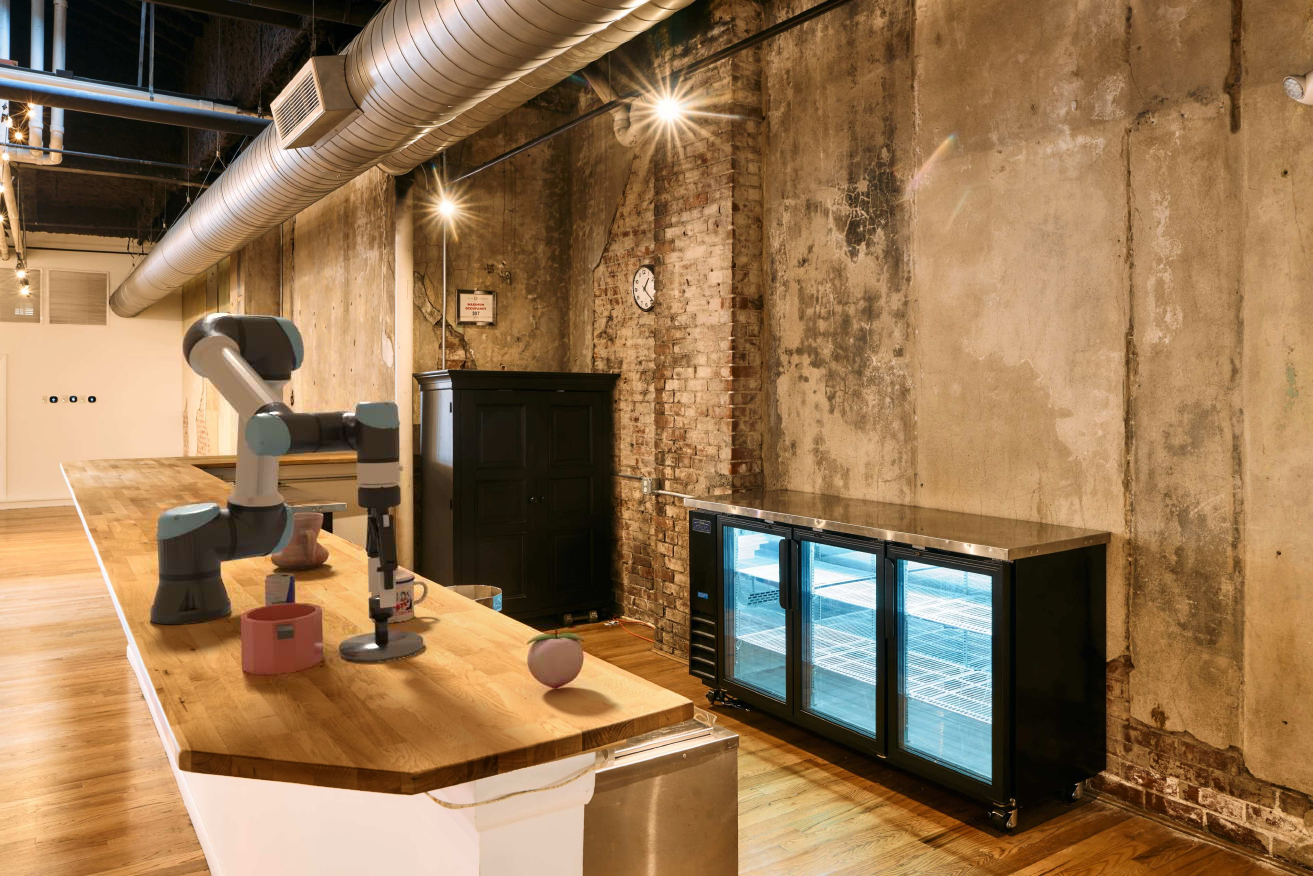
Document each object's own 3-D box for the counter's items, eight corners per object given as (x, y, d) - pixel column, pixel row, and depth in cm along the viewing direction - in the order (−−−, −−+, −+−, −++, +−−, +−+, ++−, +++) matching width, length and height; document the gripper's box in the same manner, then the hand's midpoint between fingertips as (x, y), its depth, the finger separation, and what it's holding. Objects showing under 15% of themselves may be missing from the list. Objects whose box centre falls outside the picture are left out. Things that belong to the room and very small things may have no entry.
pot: (328, 674, 145) (327, 622, 144) (243, 686, 139) (241, 632, 138) (316, 641, 164) (315, 595, 163) (241, 650, 158) (239, 602, 157)
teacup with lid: (376, 626, 174) (375, 570, 173) (365, 616, 182) (364, 562, 181) (434, 618, 180) (433, 563, 180) (421, 608, 188) (420, 556, 187)
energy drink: (302, 633, 169) (300, 573, 168) (282, 641, 164) (280, 579, 163) (280, 630, 171) (279, 571, 170) (260, 638, 166) (258, 577, 165)
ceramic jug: (263, 565, 233) (261, 514, 232) (317, 559, 242) (316, 509, 241) (282, 577, 219) (281, 522, 218) (339, 569, 228) (338, 517, 227)
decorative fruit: (535, 702, 132) (535, 639, 132) (522, 685, 140) (522, 625, 139) (593, 694, 136) (592, 632, 135) (576, 677, 144) (576, 619, 143)
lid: (321, 658, 154) (320, 604, 154) (373, 635, 168) (372, 585, 168) (391, 667, 149) (390, 611, 149) (439, 642, 164) (438, 591, 163)
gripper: (413, 490, 148) (416, 611, 149) (388, 478, 170) (391, 583, 171) (368, 492, 144) (371, 616, 145) (348, 480, 166) (351, 587, 168)
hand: (382, 599), depth 158 cm, fingers open, 13 cm apart
